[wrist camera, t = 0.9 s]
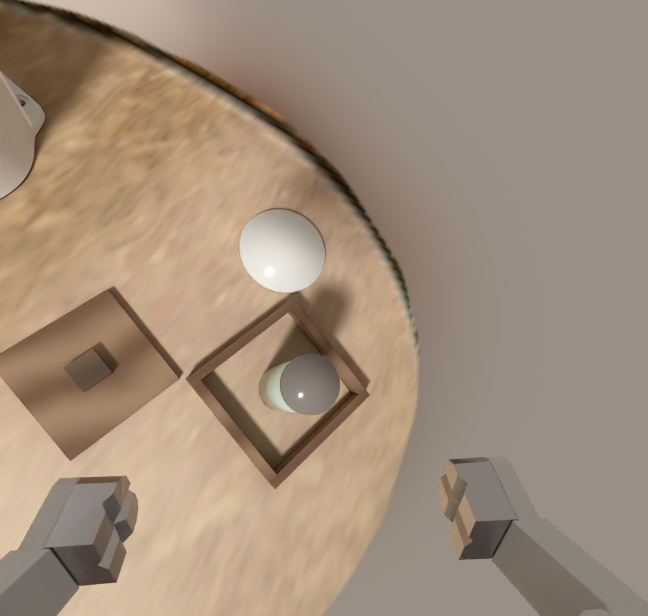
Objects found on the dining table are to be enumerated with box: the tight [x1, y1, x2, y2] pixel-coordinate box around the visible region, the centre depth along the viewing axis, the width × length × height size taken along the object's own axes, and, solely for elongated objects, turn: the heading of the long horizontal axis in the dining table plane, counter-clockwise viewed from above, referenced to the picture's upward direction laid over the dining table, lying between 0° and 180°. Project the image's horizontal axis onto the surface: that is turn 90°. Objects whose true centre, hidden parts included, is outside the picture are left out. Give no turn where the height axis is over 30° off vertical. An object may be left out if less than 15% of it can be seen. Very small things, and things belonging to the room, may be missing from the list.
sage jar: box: [259, 354, 340, 415], centre depth 41 cm, size 5×5×12 cm
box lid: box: [0, 290, 179, 461], centre depth 39 cm, size 12×12×2 cm
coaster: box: [239, 209, 325, 293], centre depth 50 cm, size 11×11×1 cm
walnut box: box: [186, 298, 370, 489], centre depth 45 cm, size 15×15×2 cm
